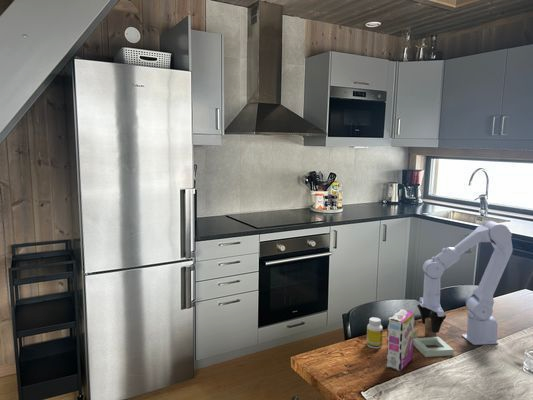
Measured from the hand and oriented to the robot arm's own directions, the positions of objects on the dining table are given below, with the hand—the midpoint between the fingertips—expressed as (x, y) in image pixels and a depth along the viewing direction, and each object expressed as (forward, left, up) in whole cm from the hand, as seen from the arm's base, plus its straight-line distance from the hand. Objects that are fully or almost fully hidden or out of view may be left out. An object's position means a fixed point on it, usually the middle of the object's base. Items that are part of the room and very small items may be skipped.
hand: (430, 327), depth 151 cm
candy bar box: (+19, +17, -4) cm, 26 cm away
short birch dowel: (+8, +2, -4) cm, 9 cm away
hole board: (+4, +9, -4) cm, 10 cm away
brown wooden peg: (0, 0, -4) cm, 4 cm away
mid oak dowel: (+7, -3, -4) cm, 8 cm away
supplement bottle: (+23, +4, -4) cm, 24 cm away
